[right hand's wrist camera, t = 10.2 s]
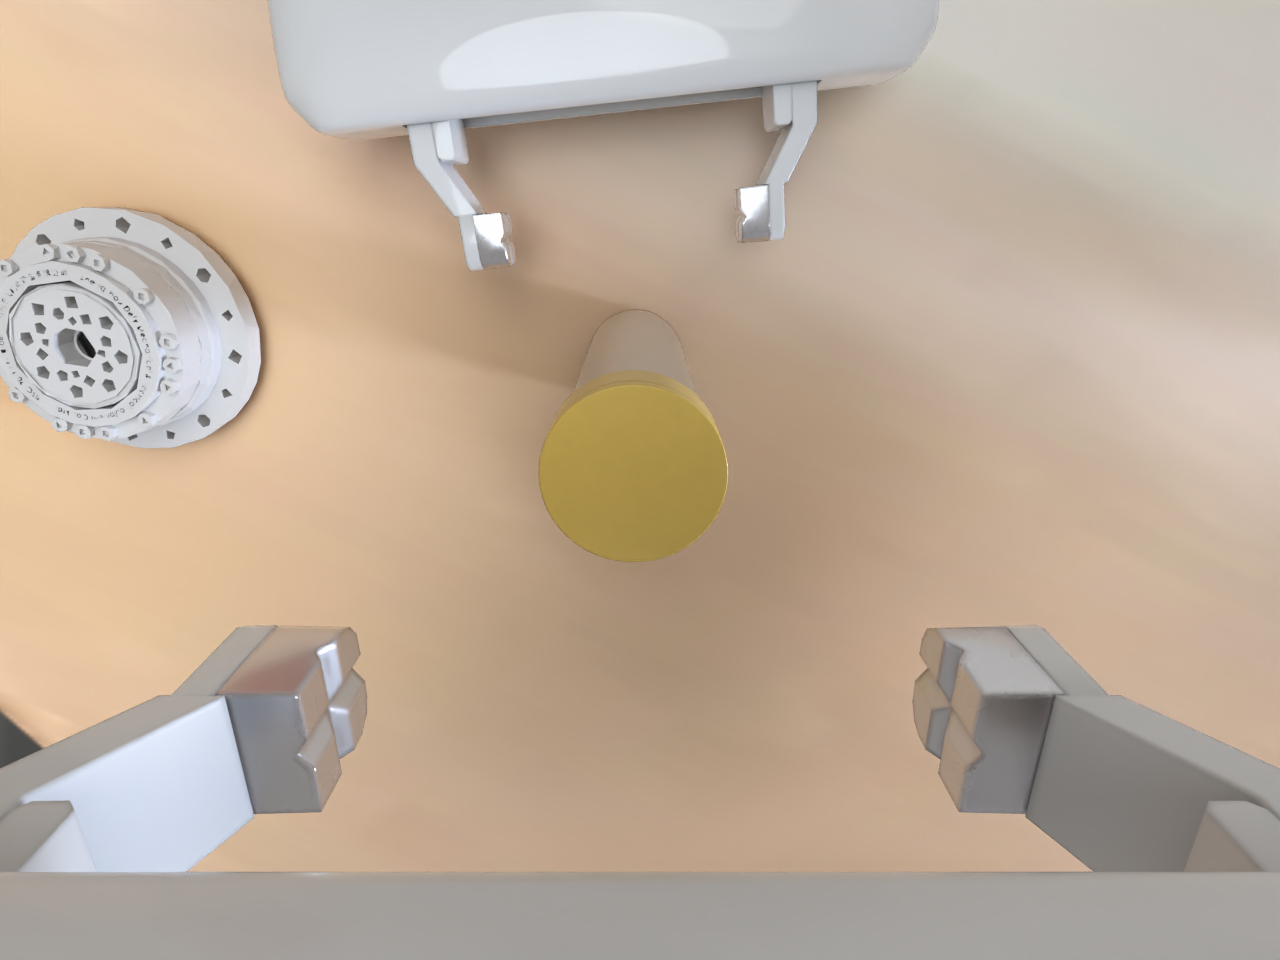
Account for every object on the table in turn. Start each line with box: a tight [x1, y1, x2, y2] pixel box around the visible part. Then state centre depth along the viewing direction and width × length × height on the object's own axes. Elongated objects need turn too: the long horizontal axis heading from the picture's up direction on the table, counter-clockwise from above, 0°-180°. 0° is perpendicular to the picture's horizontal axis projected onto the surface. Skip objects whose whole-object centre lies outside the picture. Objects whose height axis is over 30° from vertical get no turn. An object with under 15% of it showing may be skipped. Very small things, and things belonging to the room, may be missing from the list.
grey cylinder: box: [573, 310, 697, 395], centre depth 25 cm, size 4×4×15 cm
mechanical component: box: [0, 207, 261, 448], centre depth 29 cm, size 10×4×10 cm
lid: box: [539, 370, 728, 562], centre depth 18 cm, size 5×5×2 cm
